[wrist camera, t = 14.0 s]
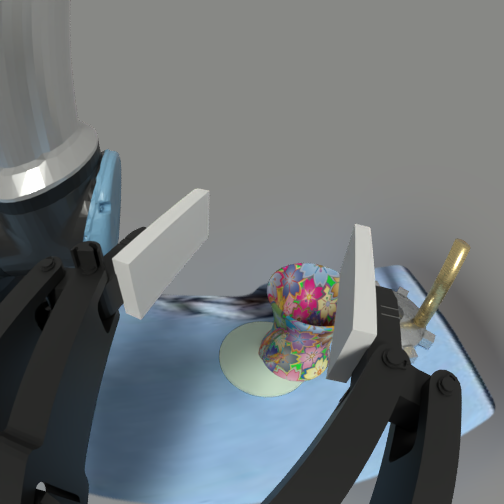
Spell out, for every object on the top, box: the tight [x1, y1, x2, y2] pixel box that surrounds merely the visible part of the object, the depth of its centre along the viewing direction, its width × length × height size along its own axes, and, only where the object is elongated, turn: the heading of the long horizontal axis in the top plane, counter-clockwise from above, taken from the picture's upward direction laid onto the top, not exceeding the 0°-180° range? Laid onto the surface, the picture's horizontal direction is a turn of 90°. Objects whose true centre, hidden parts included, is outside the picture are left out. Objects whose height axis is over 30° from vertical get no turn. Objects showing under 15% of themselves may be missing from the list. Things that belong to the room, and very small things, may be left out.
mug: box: [258, 263, 340, 381], centre depth 29 cm, size 12×9×11 cm
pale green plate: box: [219, 322, 304, 397], centre depth 33 cm, size 11×11×1 cm
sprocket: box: [375, 239, 470, 363], centre depth 34 cm, size 15×15×16 cm
